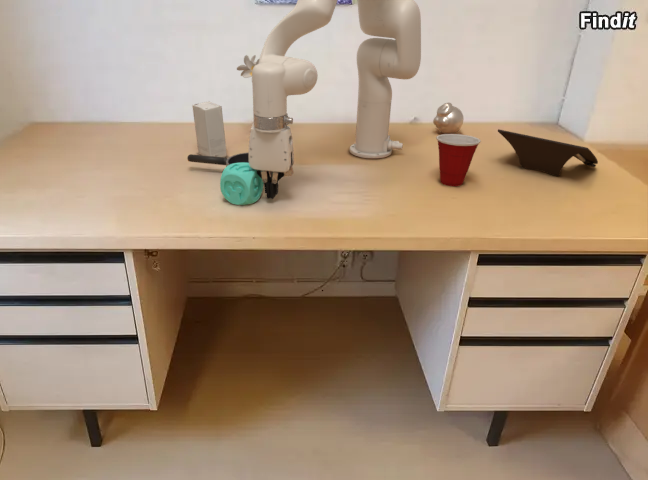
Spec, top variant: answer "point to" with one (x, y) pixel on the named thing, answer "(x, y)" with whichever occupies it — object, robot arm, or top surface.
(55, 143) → the top surface
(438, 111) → the silver rounded lump
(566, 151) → the laptop tray
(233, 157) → the pan
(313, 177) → the top surface
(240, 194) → the decorative dice
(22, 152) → the top surface
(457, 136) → the plastic cup
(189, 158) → the pan handle
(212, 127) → the cosmetic box
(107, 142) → the top surface
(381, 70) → the robot arm
